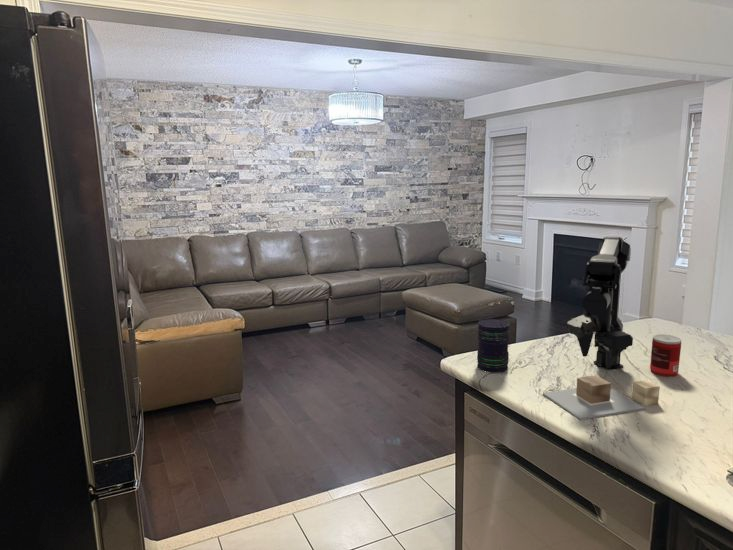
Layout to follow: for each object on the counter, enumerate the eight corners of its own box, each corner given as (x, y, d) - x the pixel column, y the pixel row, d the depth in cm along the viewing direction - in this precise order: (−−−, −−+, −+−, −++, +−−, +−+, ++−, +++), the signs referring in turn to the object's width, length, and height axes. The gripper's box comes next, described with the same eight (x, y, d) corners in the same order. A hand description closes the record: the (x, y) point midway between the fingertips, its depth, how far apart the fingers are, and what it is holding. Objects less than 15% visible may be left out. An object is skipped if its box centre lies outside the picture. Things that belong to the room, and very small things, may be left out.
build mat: (602, 385, 148) (602, 384, 148) (645, 409, 133) (645, 407, 133) (542, 394, 143) (542, 392, 143) (580, 419, 128) (580, 418, 128)
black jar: (470, 366, 165) (471, 322, 162) (490, 359, 171) (491, 316, 168) (495, 375, 157) (496, 329, 154) (514, 368, 163) (516, 323, 160)
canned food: (674, 368, 160) (678, 335, 157) (681, 378, 152) (684, 343, 150) (647, 366, 162) (650, 333, 160) (652, 375, 155) (655, 341, 153)
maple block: (644, 396, 140) (646, 379, 139) (658, 403, 136) (659, 386, 135) (631, 399, 139) (632, 382, 138) (644, 406, 135) (645, 388, 134)
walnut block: (594, 391, 143) (595, 375, 142) (609, 400, 137) (611, 383, 136) (576, 394, 141) (577, 377, 140) (590, 403, 135) (592, 386, 134)
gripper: (552, 300, 141) (549, 354, 144) (598, 317, 123) (594, 378, 126) (586, 297, 144) (582, 349, 146) (636, 313, 126) (631, 373, 129)
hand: (596, 361), depth 137 cm, fingers open, 9 cm apart
